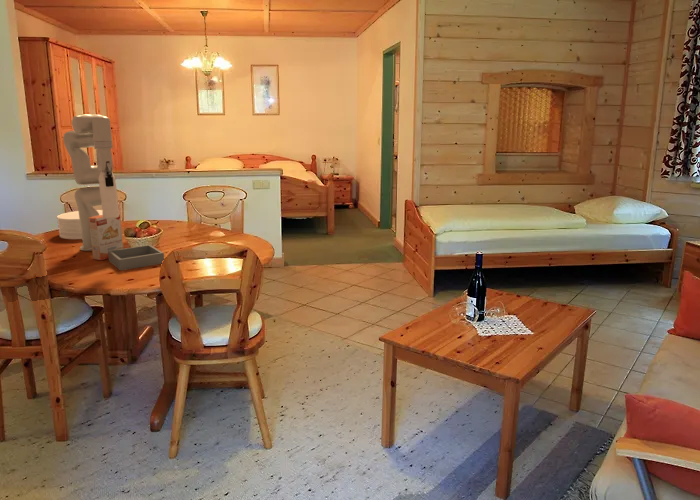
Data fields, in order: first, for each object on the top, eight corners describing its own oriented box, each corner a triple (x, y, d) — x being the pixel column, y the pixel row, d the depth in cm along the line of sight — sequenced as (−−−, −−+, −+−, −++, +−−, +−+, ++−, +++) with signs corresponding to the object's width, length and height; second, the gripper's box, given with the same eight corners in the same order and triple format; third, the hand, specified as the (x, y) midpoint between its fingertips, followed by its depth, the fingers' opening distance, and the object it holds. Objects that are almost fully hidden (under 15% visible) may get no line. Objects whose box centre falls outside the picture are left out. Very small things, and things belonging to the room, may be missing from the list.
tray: (109, 261, 273) (107, 250, 272) (151, 254, 285) (150, 244, 283) (120, 270, 258) (119, 259, 256) (164, 263, 269) (163, 252, 268)
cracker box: (101, 261, 273) (96, 218, 268) (92, 259, 276) (87, 217, 271) (124, 254, 285) (120, 213, 280) (116, 252, 288) (111, 212, 283)
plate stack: (49, 235, 328) (46, 215, 325) (94, 226, 350) (92, 208, 347) (77, 241, 313) (75, 221, 310) (122, 232, 335) (120, 212, 332)
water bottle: (106, 215, 264) (99, 161, 257) (121, 215, 264) (115, 161, 257) (100, 219, 257) (94, 163, 250) (116, 218, 257) (110, 163, 251)
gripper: (90, 144, 257) (94, 183, 261) (98, 146, 243) (103, 188, 248) (107, 143, 261) (112, 182, 266) (117, 146, 247) (121, 187, 252)
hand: (107, 185), depth 257 cm, fingers closed on water bottle, 7 cm apart
